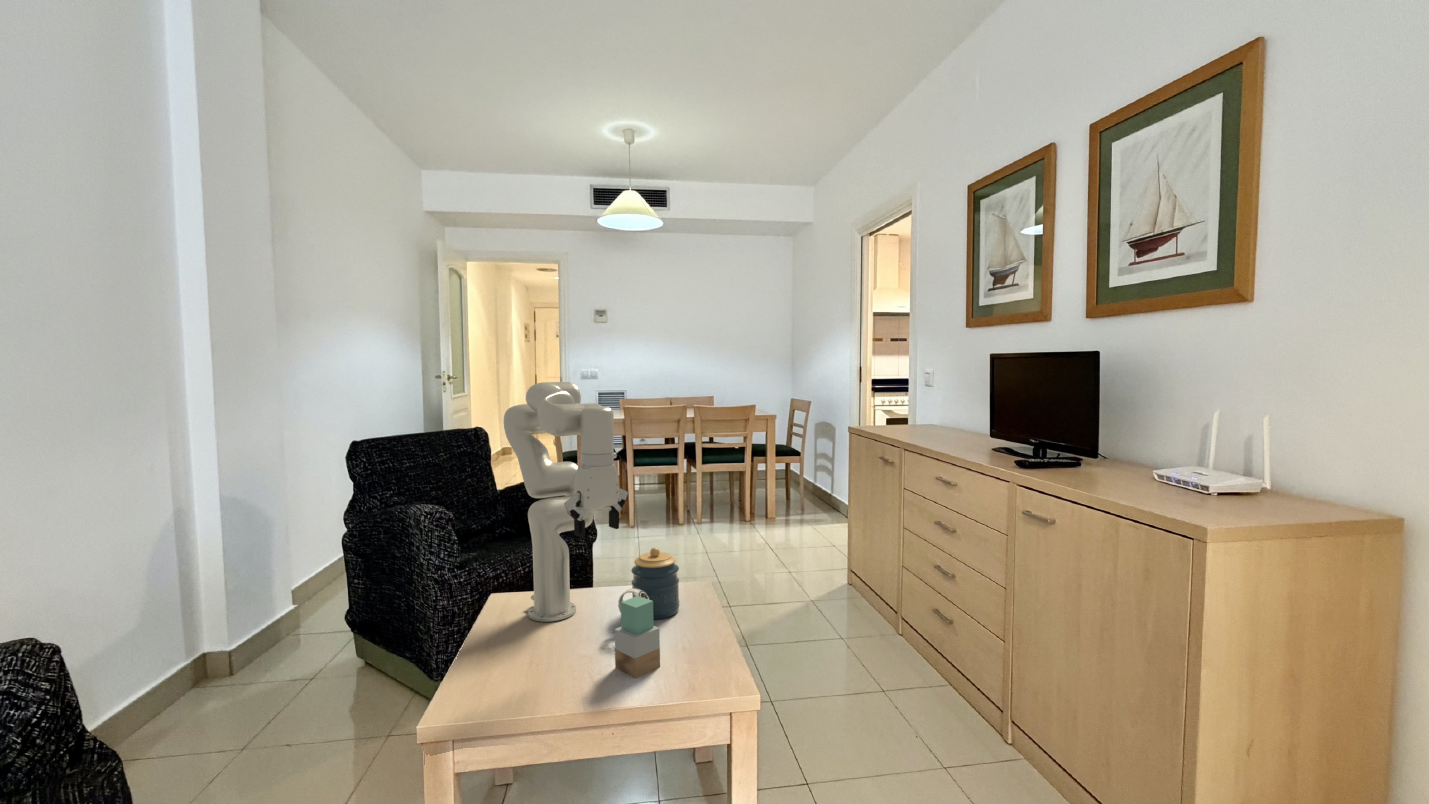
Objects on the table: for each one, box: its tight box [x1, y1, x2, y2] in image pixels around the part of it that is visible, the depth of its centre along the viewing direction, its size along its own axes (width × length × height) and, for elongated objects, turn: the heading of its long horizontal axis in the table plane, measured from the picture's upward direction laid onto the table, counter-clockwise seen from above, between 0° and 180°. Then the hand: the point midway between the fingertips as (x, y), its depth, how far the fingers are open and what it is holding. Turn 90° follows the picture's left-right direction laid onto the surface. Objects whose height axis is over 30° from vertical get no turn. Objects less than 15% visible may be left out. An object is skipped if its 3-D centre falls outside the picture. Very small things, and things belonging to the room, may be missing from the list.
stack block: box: [620, 596, 655, 635], centre depth 136 cm, size 5×5×6 cm
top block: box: [614, 625, 661, 659], centre depth 136 cm, size 7×7×4 cm
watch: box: [617, 587, 650, 613], centre depth 154 cm, size 6×8×11 cm
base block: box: [614, 647, 661, 679], centre depth 136 cm, size 7×7×4 cm
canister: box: [630, 547, 680, 620], centre depth 168 cm, size 13×13×18 cm
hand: (597, 531), depth 144 cm, fingers open, 9 cm apart
